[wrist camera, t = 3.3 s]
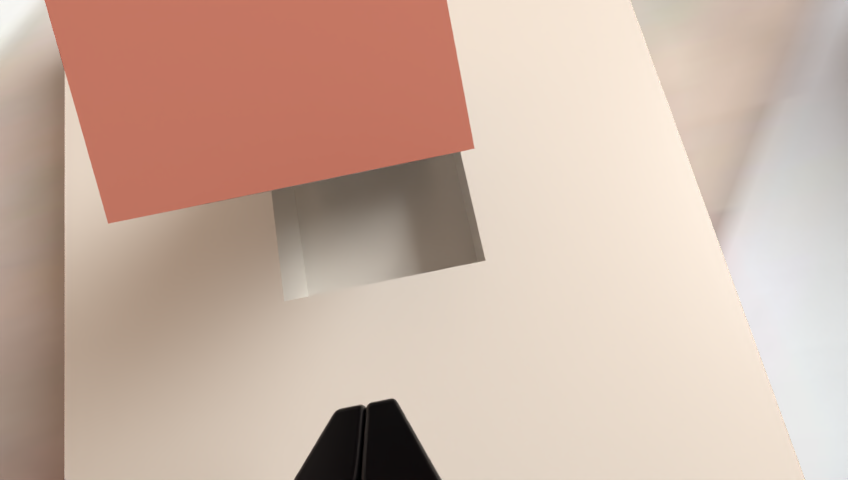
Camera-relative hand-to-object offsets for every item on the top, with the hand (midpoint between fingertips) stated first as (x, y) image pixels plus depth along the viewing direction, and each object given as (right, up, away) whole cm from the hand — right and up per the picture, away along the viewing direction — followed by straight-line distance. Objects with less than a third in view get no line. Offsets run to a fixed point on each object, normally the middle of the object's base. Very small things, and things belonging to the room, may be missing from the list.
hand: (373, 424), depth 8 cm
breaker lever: (-1, +6, +8) cm, 10 cm away
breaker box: (0, +3, +10) cm, 11 cm away
